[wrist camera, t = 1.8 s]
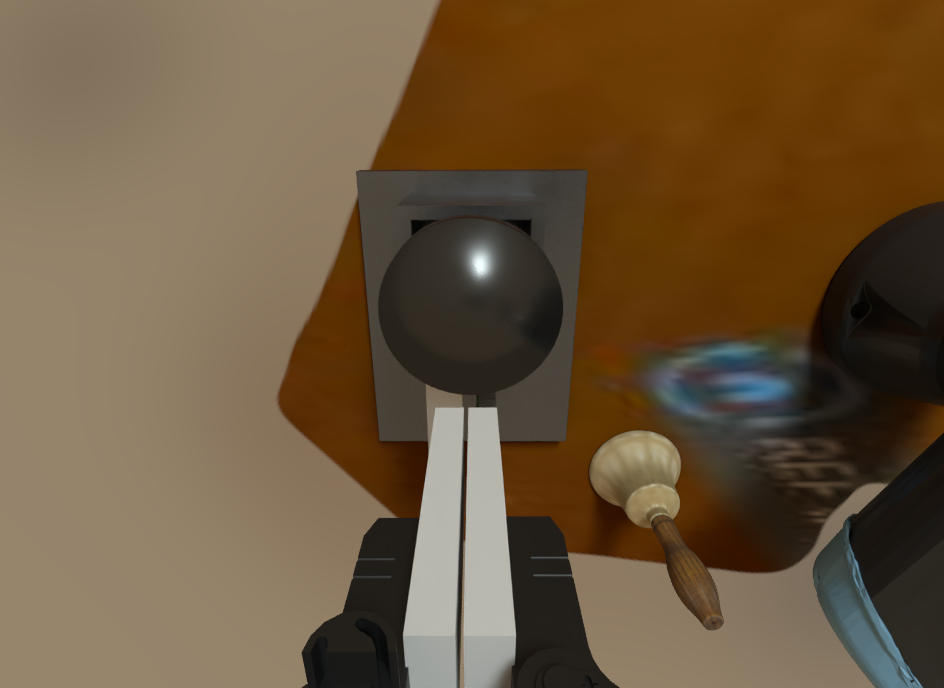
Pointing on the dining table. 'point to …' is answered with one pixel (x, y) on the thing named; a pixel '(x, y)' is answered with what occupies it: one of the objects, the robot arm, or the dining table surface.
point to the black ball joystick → (469, 308)
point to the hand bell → (656, 510)
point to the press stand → (495, 195)
